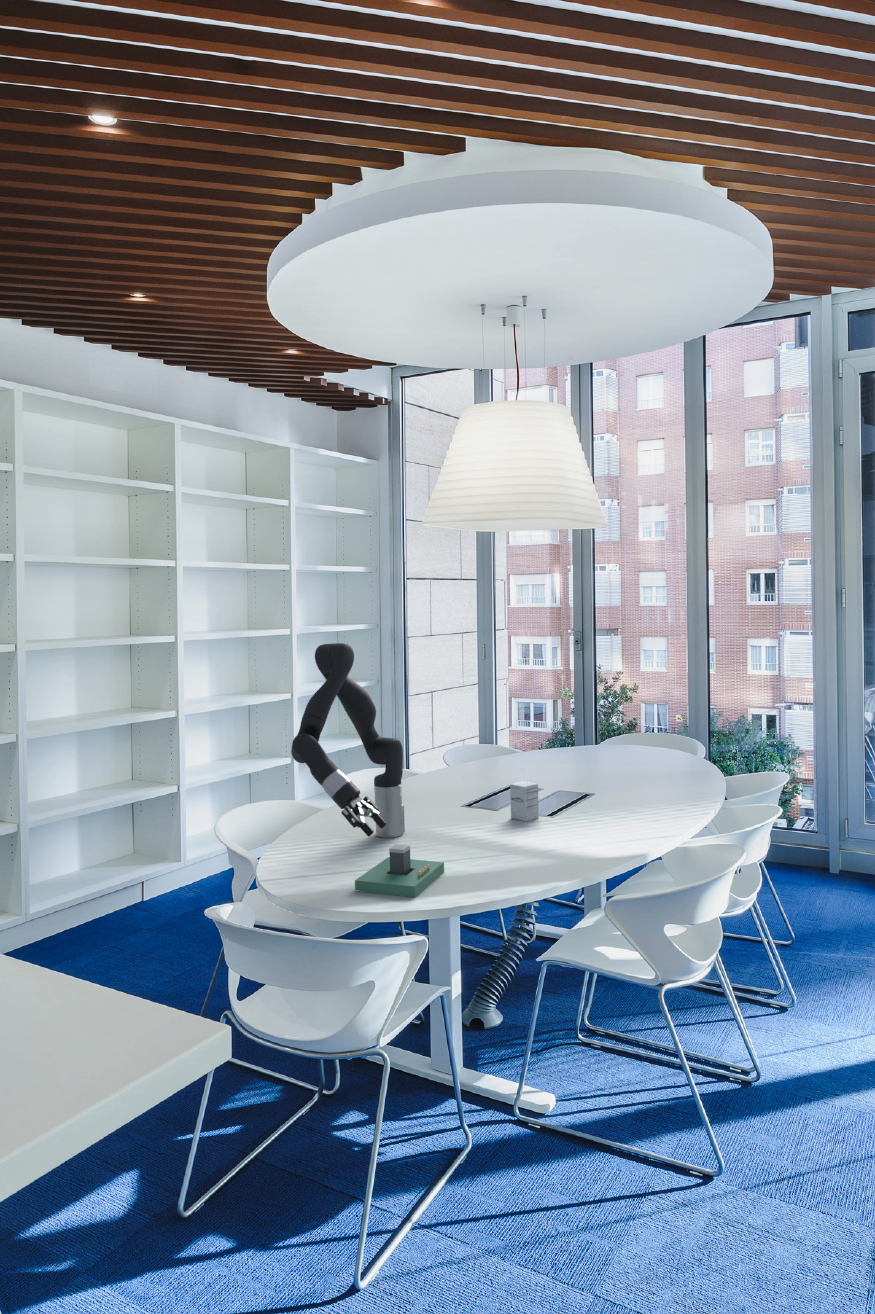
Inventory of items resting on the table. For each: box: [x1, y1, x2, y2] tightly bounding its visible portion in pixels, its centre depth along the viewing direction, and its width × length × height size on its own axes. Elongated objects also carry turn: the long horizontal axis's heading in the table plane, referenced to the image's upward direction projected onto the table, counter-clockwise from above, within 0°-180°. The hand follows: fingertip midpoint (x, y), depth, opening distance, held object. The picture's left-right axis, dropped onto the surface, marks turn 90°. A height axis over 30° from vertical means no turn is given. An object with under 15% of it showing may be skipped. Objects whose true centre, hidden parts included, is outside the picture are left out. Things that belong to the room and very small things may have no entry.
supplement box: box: [509, 780, 540, 822], centre depth 314 cm, size 7×7×13 cm
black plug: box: [388, 843, 411, 876], centre depth 250 cm, size 4×4×10 cm
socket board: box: [354, 856, 445, 898], centre depth 250 cm, size 22×18×4 cm
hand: (378, 830), depth 251 cm, fingers open, 8 cm apart
